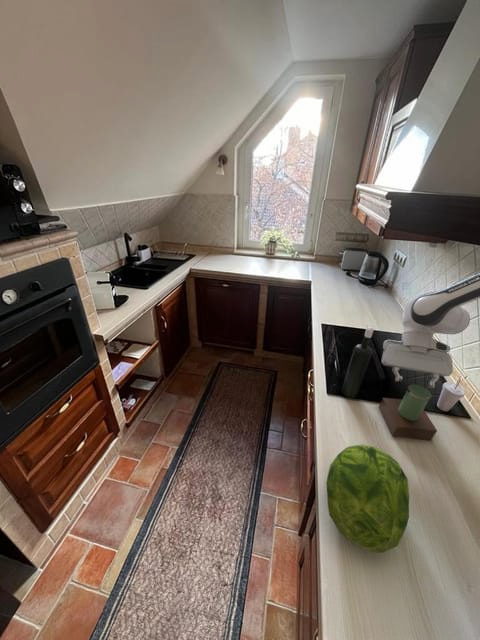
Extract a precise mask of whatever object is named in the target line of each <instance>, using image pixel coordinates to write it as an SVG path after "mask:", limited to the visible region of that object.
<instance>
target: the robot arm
mask: <svg viewBox="0 0 480 640" xmlns="http://www.w3.org/2000/svg"><path fill="white" fill-rule="evenodd" d="M477 300H480V272H479V273H476V274H473V275H472V276H469V277H467V278H465V279H462V280H460V281H458V282H455V283H454V284H451V285H449V286H447V287H445V288H441V289H439V290H436V291H435V290H433V291H429V292H425V293H423V294H420V295H419V296H418V297H414V298H412V299H409V300H408V301H407V302H406V303H405V306H404V309H403V314H402V326H403V329H402V332H401V341H400V340H395V339H394V340H393V339H386V340H384V341H383V343H382V350H383V351H382V356H381V364H382V366H385V367H389V368H392V373H393V374H394V376H395V382H399V383H402V382H403V377H404V376H402V375H400V373H399V371H400V369H401V370H407V371H412V372H418V373H423V374H427V375H428V374H429V375H430V378H431V379H430V381H426V387H427V388H430V389H435V388H436V382H437V381H438V380H439V379H440V377H450V376H452V374H453V372H454V371H453V369H454V367H453V359H452V356H451V354H450V352H451V346H450V345H449V344H446V343H443V342H441V341H439V340H437V339H435V338H434V334H441V335H457V334H460V333H463V332H464V331H465V330H466V329H467V328H468V327H469V325H470V323H471V322H470V321H471V316H470V313H469V312H468V311H467V310H466V309H464V308H463V307H462V306H464V305H467V304H469V303H472V302H474V301H477Z"/></svg>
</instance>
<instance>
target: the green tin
mask: <svg viewBox="0 0 480 640" xmlns="http://www.w3.org/2000/svg"><path fill="white" fill-rule="evenodd" d="M431 398H432V394H431V392H430V391H429V390H428V389H427V388H426V387H423V386H422V385H419V384H410V385H408V386H407V389H406V391H405V393H404V395H403V398H402V402H401V404H400V406H399V408H398V411H399V413H400V414H401V415H402V416H403V417H404V418H406V419H408V420H413V421H415V420H417V419H418V418H419V416H420V415H421V413H422V411H423V410H425V408H426V406H427V404H428V402H429V401H430V399H431Z"/></svg>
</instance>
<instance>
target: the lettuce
mask: <svg viewBox="0 0 480 640" xmlns="http://www.w3.org/2000/svg"><path fill="white" fill-rule="evenodd" d="M325 482H326V499H327V508H328V514H329V517H330V519H331V521H332V522H333V524H334V526H335V527H336V528H337V529H338V531H339V532H340V533H341V534H342V535H343V536H344V537H345V538H347V539H348V541H350V543H351V542H352V543H353V544H355V545H356V546H358V547H360V548H362V549H364V550H367V551H369V552H373V553H385V552H387V551H389V550H392V549H393V548H395V547H398V545H399V543H400V541H401V539H402V537H403V535H404V533H405V531H406V529H407V526H408V522H409V518H410V490H409V489H410V487H409V481H408V477H407V475H406V474H405V472H404V470H403V468H402V467H401V465H400V463H399V461H397V460H396V459H395V458H394V457H393V456H391V455H390V454H389V453H388V452H386V451H384V450H382V449H380V448H378V447H375V446H371V445H367V444H355V445H350V446H347V447H345V448H344V449H343V450H342V451H340V452H339V454H337V455H336V457H335V458H334V459H333V461H332V462H331V463H330V465H329V468H328V472H327V477H326V481H325Z"/></svg>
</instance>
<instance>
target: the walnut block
mask: <svg viewBox="0 0 480 640" xmlns="http://www.w3.org/2000/svg"><path fill="white" fill-rule="evenodd" d="M402 400H403V398H402V399H401V398H389V397H382V398H381V401H380V403H379V405H378V409H379V411H380V414H381V417H383V420H384V422H385V424H386V427H387V428H388V431H389V433H390V435H391V437H394V438H402V439H412V440H423V441H432V439H433V438H434V437H435V435H436V433H437V432H438V429H437V428H436V426H435V425H434V423H433V422H432V420H431V419H430V417H429V416H428V414H427V412H426V411H425V409H423V411H422V413H421V415H420V416H419V418H418V419H417V420H415V421H413V420H408V419H406V418H404V417H403V416H402V415H401V414H400V413H399V411H398V408H399V406H400V404H401V402H402Z"/></svg>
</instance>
